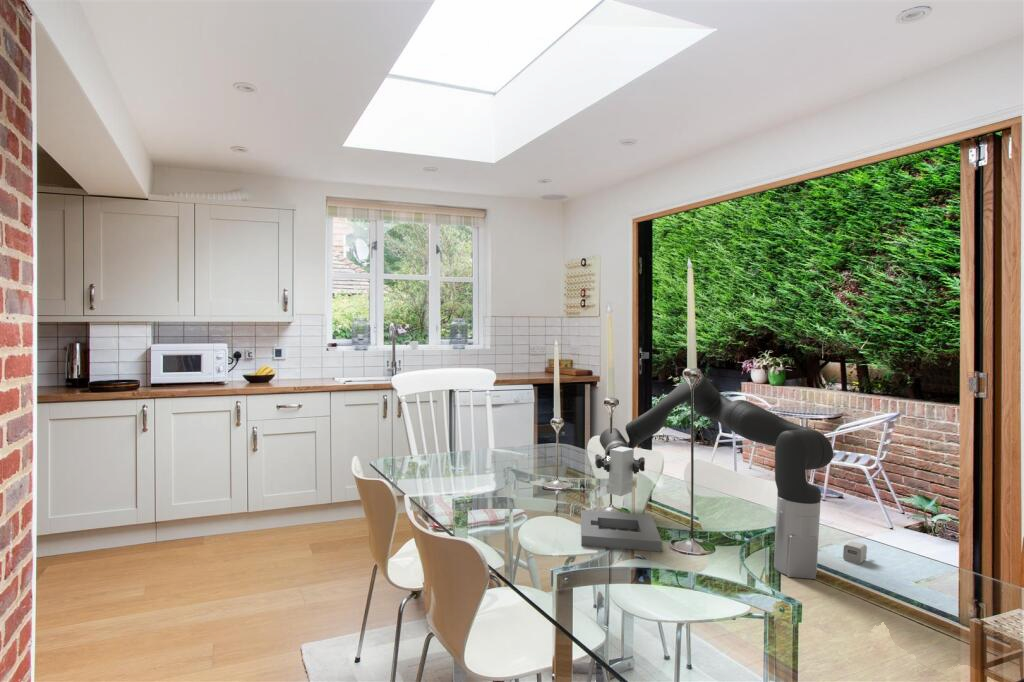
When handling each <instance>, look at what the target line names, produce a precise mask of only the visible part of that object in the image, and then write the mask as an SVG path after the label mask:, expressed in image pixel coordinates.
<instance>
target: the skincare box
mask: <svg viewBox="0 0 1024 682" xmlns="http://www.w3.org/2000/svg"><path fill="white" fill-rule="evenodd" d="M634 449H635V448H634ZM634 449H632V448H627V447H621V446H620V447H617V448H614V449H610V460H609V464H610V467H609V472H608V494H610V495H613V496H618V497H624V496H625V495H628V494H631V493H633V486H634V485H633V482H634V481H633V480H634V479H633V478H634V472H633V458H635V457H634V451H635V450H634Z"/></svg>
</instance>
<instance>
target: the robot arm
mask: <svg viewBox="0 0 1024 682" xmlns="http://www.w3.org/2000/svg"><path fill="white" fill-rule="evenodd" d="M718 390H719V389H717V388H716V387H715V386H714V384H712V383H711V382H710V380H708V379H707V378H706V377H705V376H704V375H702V378H701V379H700V381H699V382H698V383H697V385H696V386H695V390H694V410H693V411H694V412H695V413H696V414H698V415H700V416H703V417H706V418H709V419H711V420H714V421H716V422H718V423H720V424H721V425H722V426H723V427H725V428H727V429H728V430H730V431H732V433H735V434H737V435H738V436H740V437H742V438H743V439H746V440H749V441H752V442H754V443H758V444H761V445H767V446H771V447H774V481H775V485H776V489H777V494H776V495H777V500H776V515H775V517H776V518H775V534H774V551H773V553H774V555H773V556H774V557H773V568H774V569H775V570H776V571H777V572H778V573H780V574H783V575H785V576H786V577H788V578H798V579H799V578H800V579H811V580H816V579H817V575H818V574H817V573H818V558H819V557H818V553H819V539H820V538H819V537H820V531H819V530H820V518H821V517H820V515H821V500H822V499H821V497H822V491H821V489H820V488H819V487H817V485H814V484H811V483H809V482H808V481H807V472H806V471H808V470H811V471H813V470H818V469H819V470H820V469H823V468H825V467H827V466H828V465H829V464H830V463H831V462H832V460H833V457H834V449H833V445H832V443H831V442H830V440H829V438H828V437H827V436H825V435H824V433H822V432H821V431H818V430H816V429H813V428H809V427H806V426H803V425H800V424H797V423H794V422H791V421H789V420H787V419H785V418H783V417H782V416H779V415H777V414H775V413H774V412H771V411H768V409H766V408H763V407H761V406H759V405H758V404H755V403H753V402H750V401H748V400H745V399H735V400H733V401H732V400H731V399H729V398H727V397H725V396H724V394H723V395H722V393H721V392H720V391H718ZM684 403H686V405H688V406H689V407H690V408H691V392H690V386H689V384H688V383H687V382H686V381H685V380H684V381H682V382H681V383H679V385H677V386H676V387H675V388H673V390H671V391H670V392H669V393H668V394H667V395H666V396H664V398H662V399H661V400H660V401H659V402H657V403H656V404H655V405H654V406H653V407H651V408H650V409H649V410H647V411H646V412H644V413H643V414H641V415H639V416H638V417H636V418H634V419H633V420H631V421H629V422H628V423H626V425H625V432H626V435H627V438H628V440H629V441H627V440H626V438H625V437H624V436H623V435H622V433H621V432H620V430H618V428H615V427H608V428H606V429H605V430H603V431H602V433H601V434H600V436H599V439H598V441H599V444H600V445H601V447H602V448H603V450H604V457H602V455H601V454H595V457H594V465H595V467H596V468H597V469H602V468H603V470H604V471H606V472H607V473H609V467H610V464H609V460H610V449H614V448H617V447H620V446H621V447H627V448H632V449H635V448H636V447H638V445H640V444H641V443H642V442H644V441H646V440H647V439H649V438H650V437H652V436H654V435H655V434H657V433H658V432H659V431H660V430H661V429H662V428H663V427H664V425H665V424H666V422H667V420H668V418H669V416H670V414H671V413H672V412H673V410H675V408H677V407H678V406H679V405H682V404H684ZM610 428H612V433H611V434H610ZM645 461H646V460H645V457H640V458H637V459H636V458H635V457H633V475H634V474H635V475H637V473H640V472H645V464H646V462H645Z"/></svg>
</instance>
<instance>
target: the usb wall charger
mask: <svg viewBox="0 0 1024 682" xmlns="http://www.w3.org/2000/svg"><path fill="white" fill-rule="evenodd" d="M867 550H868V547H867V545H866V544H864V543H862V542H857V541H853V540H850V541H849V542H847V543H846V544H844V546H843V550H842V551H843V553H842V557H843V561H846V562H850V563H853V564H856V565H859V564H861V563H862V562H864V561H865V560H866V559H867V554H868V553H867V552H868V551H867Z"/></svg>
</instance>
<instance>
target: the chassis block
mask: <svg viewBox="0 0 1024 682" xmlns="http://www.w3.org/2000/svg"><path fill="white" fill-rule="evenodd" d="M580 511H581V512H580V539H581V540H580V542H581V544H580V545H581V546H584V547H586V546H587V547H598V548H600V547H601V548H612V549H623V550H624V549H625V550H635V551H636V550H638V551H647V552H648V551H649V552H660V553H661V552H662V551H663V550H662V549H663V541H662V538H661V536H660V533H659V530H658V528H657V525H656V522H655V520H654V517H653V514H643V513H628V512H617V511H616V512H614V511H601V510H589V509H588V510H587V509H581V510H580ZM600 527H603V528H612V529H601V528H600ZM613 528H615V529H613ZM616 529H627V530H628V529H629V530H637V531H627V530H616Z"/></svg>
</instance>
